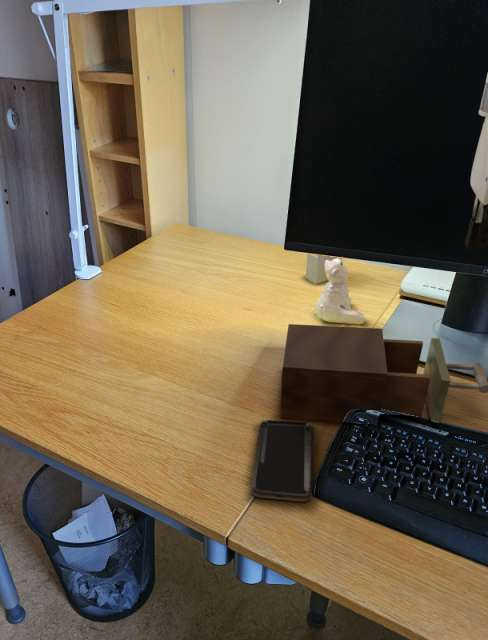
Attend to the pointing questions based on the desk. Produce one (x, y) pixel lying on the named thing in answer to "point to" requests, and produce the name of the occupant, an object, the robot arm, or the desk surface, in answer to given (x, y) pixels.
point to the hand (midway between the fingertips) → (477, 248)
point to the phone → (284, 461)
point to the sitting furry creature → (337, 296)
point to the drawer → (422, 378)
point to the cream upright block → (317, 267)
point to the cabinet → (332, 372)
